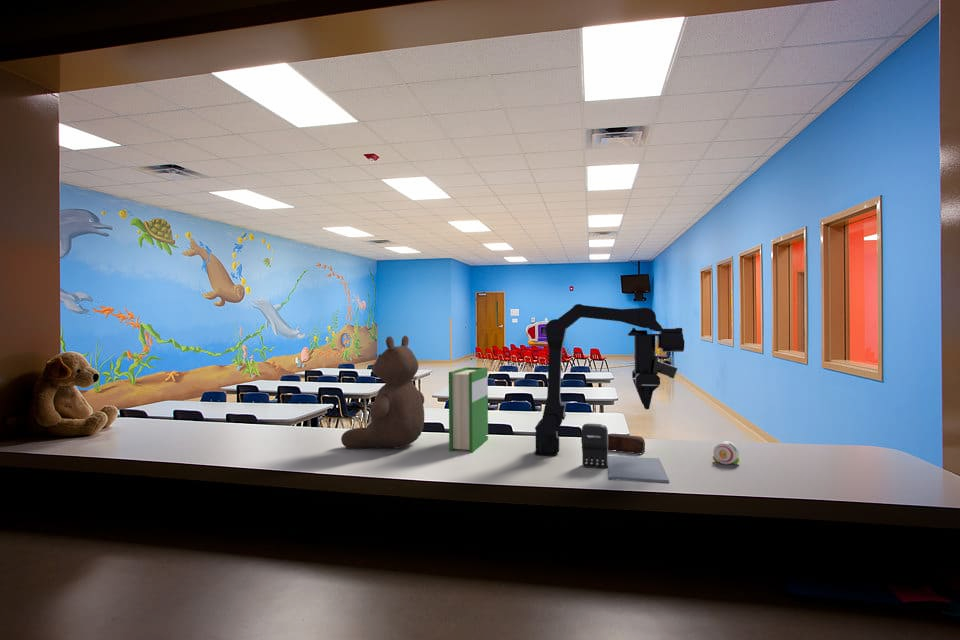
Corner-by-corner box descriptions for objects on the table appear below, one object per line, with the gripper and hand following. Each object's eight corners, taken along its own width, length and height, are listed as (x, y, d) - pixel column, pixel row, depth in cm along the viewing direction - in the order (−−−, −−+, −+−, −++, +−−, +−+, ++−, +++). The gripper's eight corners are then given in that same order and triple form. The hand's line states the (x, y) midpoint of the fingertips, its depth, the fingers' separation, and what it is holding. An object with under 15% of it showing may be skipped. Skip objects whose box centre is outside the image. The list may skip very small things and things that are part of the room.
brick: (606, 451, 151) (606, 435, 151) (609, 448, 154) (609, 432, 154) (643, 455, 146) (643, 439, 146) (645, 451, 150) (645, 436, 150)
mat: (609, 479, 123) (609, 476, 123) (607, 457, 142) (607, 455, 142) (669, 482, 120) (669, 480, 120) (659, 460, 139) (659, 458, 139)
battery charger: (580, 467, 133) (580, 424, 133) (582, 464, 136) (581, 422, 137) (607, 470, 131) (607, 426, 131) (608, 466, 134) (608, 423, 134)
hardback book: (472, 452, 150) (471, 372, 150) (449, 451, 152) (448, 372, 152) (488, 439, 166) (487, 367, 167) (466, 438, 169) (466, 367, 169)
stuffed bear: (380, 433, 177) (377, 335, 178) (437, 437, 169) (435, 334, 170) (326, 454, 150) (324, 338, 151) (392, 459, 142) (389, 336, 143)
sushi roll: (736, 467, 132) (736, 445, 132) (711, 463, 136) (710, 442, 136) (740, 463, 136) (740, 442, 136) (715, 459, 140) (715, 439, 140)
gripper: (680, 353, 131) (680, 413, 131) (670, 350, 149) (670, 402, 149) (635, 353, 134) (636, 411, 134) (631, 350, 152) (632, 401, 152)
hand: (645, 406), depth 142 cm, fingers open, 9 cm apart
